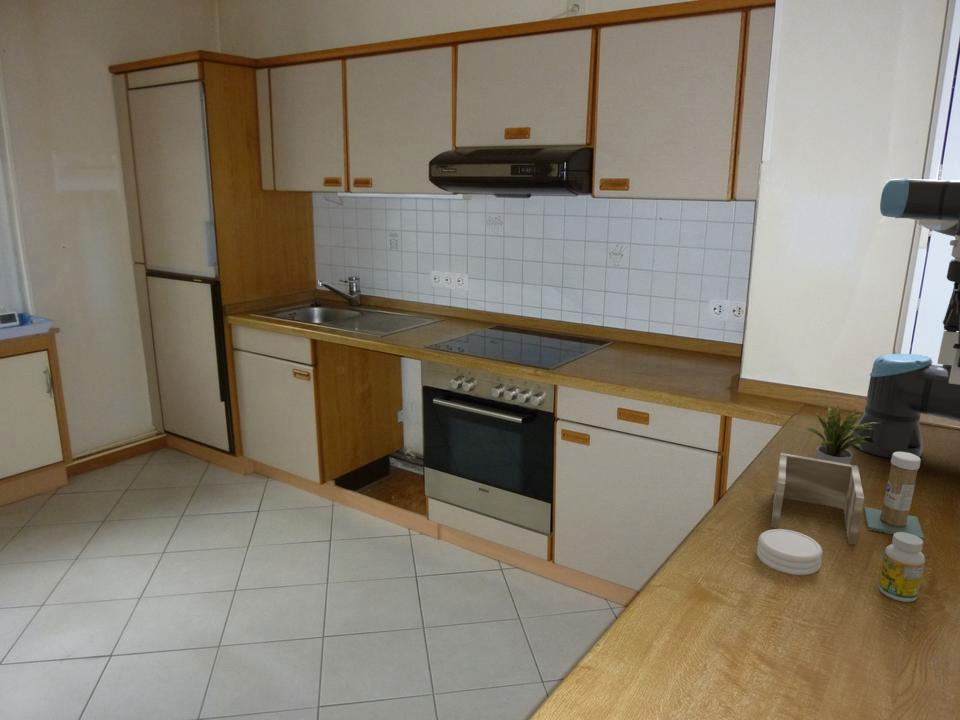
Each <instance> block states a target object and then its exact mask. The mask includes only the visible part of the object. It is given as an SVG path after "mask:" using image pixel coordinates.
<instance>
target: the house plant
mask: <svg viewBox="0 0 960 720" xmlns="http://www.w3.org/2000/svg"><path fill="white" fill-rule="evenodd" d="M836 406H837V408H836V415H835V413H834V411H833V409H832V407H831V406H830V405H828V407H827V408H828V409H827V416H828V417H827V421H826V420H825V418H824V417H823V416H821V415H820V414H818V413H817V412H815V411H814V414H815V415H816V417H817V421H818V422H819V424H820V425H821V426H822V428H823V434H824V435H823V434H822V432H820V431H819V430H817V429H815V428H811V427H810V428H806V429H805V431H809V432H812V433H814V434H816V435H817V436H819V437H820V438H821V439H822V442H821V443H820V444H821V445H818V446H817V447H816V459H820V460H826V461H832V462H838V463H844V464H849V465H851V461H852V458H853V456H854V455H853V453H852V451H850V450H849V449H850V448H851V447H854V445H856V446H858V447H860V448H861V449H862V446H861V445H860V444H858V443H856V442H866V441H865V440H863V439H864V438H866V437H867V436H865V437H861V436H859V435H853V434H854V433H856V432H857V431H858V430H864V429H872V428H864V427H868V426H869V425H867V424H872V423H880V422H870V423H864V424H862V425H859V426H857V424H856V423H857V421H858V419H859V417H860V418H861V417H862V416H863V414H864V412H862V413H861V412H860V413H858V414H856V415H855V413H856V410H857V408H855V409H853V411H851V413H850V414H849V415H848V416H847V417H846V418H845V419H844V420H843V422H842V423H841V420H842V419H841V418H842V417H841V413H840V407H839V405H836ZM855 424H856V425H855ZM864 425H866V426H864ZM856 426H857V427H856ZM859 427H860V428H859ZM871 427H873V426H871ZM849 434H850V435H849ZM824 436H825V437H824ZM853 437H860V438H858V439H853V440H851V438H853ZM861 451H862V452H864V451H863V449H862V450H861Z"/></svg>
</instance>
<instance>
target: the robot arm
mask: <svg viewBox="0 0 960 720" xmlns="http://www.w3.org/2000/svg"><path fill="white" fill-rule="evenodd" d="M882 188H883V189H882V192H881V196H880V202H879V209H880V214H881V215H882V216H883V217H887V218H889V217H890V218H895V219H908V220H909V219H911V220H913V221H916V222H917V221H918V223H919V225H921V226H922V227H924V228H925V229H927V230H931V231H933V232H936V233H940V234H943V235H946V236H950V237H954V239H953V240H950V242H949V245H950V246H953V247H952V249H951V253H950V254H951V255H950V256H952V257H953V258H954V259H951V260H949V263H948V264H949V265H948V268H947V272H946V273H947V274H946V279H947V280H948V281H949V282H952V283H953V288H952V291H951V292H952V293H951V296H950V299H949V302H948V306H947V308H946V313H945V315H944V318H943V320H942V323H943V333H942V338H941V342H940V348H939V351H938V357H937V362H936V363H937V364H938V365H935V364H933V360H932V358H931V357H929V356H927V355H923V354H922V355H921V354H916V353H915V354H912V353H889V354H884V355H880V356H878V357H877V358H875V360H874V361H873V364H872V369H871V372H870V374H869V376H870V378H869V382H868V383H869V384H868V390H867V396H866V399H865V407H864V410H863V411H864V412H863V414H862V415H861V416H860V419H859V420H858V422H857V424H856V425H857V426H859V425H862V424H864V423H870V422H880V423H872V424H867V425H869V426H868V427H864V428H872V429H864V430H858V431H857V432H856V433H854V434H853V435H859V436H861V437H865V436H867V437H866V438H864V439H863V440H865V441H866V442H856V443H858V444H860V445H861V446H862V449H863V451H862V449H861V448H860V447H858V446H856V445H853V447H855V448H857V450H861V451H862V452H866V453H869V454H871V455H876V456H878V457H883V458H887V459H892V455H893V453H894V452H907V453H911V454H914V455H916V456H918V457H919V458H920V457H921V456H922V453H923V447H924V444H923V438H922V432H921V427H920V420H921V415H922V414H923V415H928V416H932V417H937V418H942V419H946V420H951V421H956V422H960V180H955V179H954V180H952V179H951V180H950V179H949V180H942V179H918V178H917V179H913V178H908V177H907V178H906V177H904V178H892V179H889V180H887V181H886V182H885V184H884V187H882ZM856 425H855V427H857V426H856ZM864 426H866V425H864ZM871 426H873V427H871ZM859 428H860V427H859ZM858 438H860V437H853V438H850V440H853V439H858Z"/></svg>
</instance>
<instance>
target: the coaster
mask: <svg viewBox="0 0 960 720" xmlns="http://www.w3.org/2000/svg"><path fill="white" fill-rule="evenodd" d="M823 553H824V552H823V548H822V546H821V544H820V543H818V542H817V541H816V540H815V539H813V538H812V537H810V536H808V535H806V534H803V533H801V532H798V531H795V530H790V529H782V528H778V529H777V528H772V529H769V530H765V531H763V532H761V534H759V536H758V542H757V549H756V554H757V557H758V559H759V560H760V561H761V562H762V563H763V564H764V565H766V566H767V567H769V568H770V569H773V570H775V571H777V572H780V573H782V574H783V573H784V574H788V575H793V576H808V575H811V574H812V575H813V574H815V573H817V572H818V571H819V570H820V568H821V562H822V556H823Z"/></svg>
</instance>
